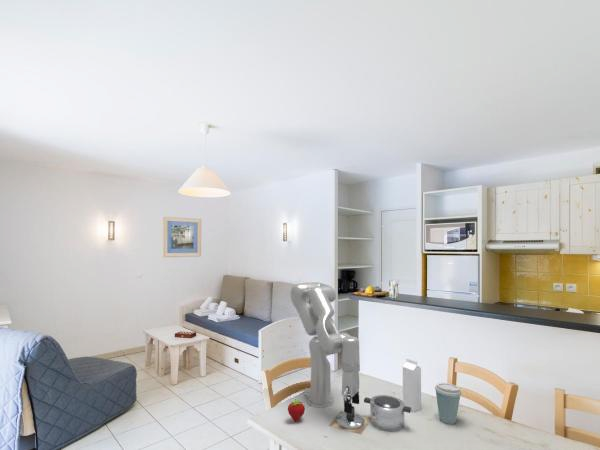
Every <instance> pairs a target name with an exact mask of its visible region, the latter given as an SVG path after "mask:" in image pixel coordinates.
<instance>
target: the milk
mask: <svg viewBox="0 0 600 450" xmlns="http://www.w3.org/2000/svg"><path fill="white" fill-rule="evenodd" d="M402 402H403V403H404V406H406V407H411V413H415V412H418V411H419V410H421V409H422V368H421V366H419V365H418V361H415V360H413V359H409V358H406V360H405V363H404V364H403V366H402Z"/></svg>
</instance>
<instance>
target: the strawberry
mask: <svg viewBox="0 0 600 450" xmlns="http://www.w3.org/2000/svg"><path fill="white" fill-rule="evenodd" d="M296 399H297V398H295V400H294V401H290V404H289V405H288V406H287V412H288V414H289V416H290V417H291V418H292V420H293V421H294V422H299V420H300V419H301V418H302V416H303V415H304V414H305V412H306V411H305V410H306V407H305V405H304V404H303V402H302V401H300V400H296Z"/></svg>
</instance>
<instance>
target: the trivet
mask: <svg viewBox="0 0 600 450" xmlns="http://www.w3.org/2000/svg"><path fill="white" fill-rule="evenodd" d="M341 413H345V412H344V410H343V411H342V410H340V411H339V413H337V415H336V416H335V417H334V419H333V420H332V421H331V422H330V423H329V425H328V426H329V427H333V428H337V429H340V430H344V431H348V432H351V433H354V434H357V435H358V434H359V435H362V434H363V432H364V431H365V429H366V428H367V426H368V424H369V422H370V417H366V416H362V415H361V416H362V417H363V418H364V420H365V424H364V426H363V427H362V428H360V429H354V430H351V429H345V428H343V427H341V426H339V425H338V424H337V422H336V418H337V416H338V415H339V414H341Z"/></svg>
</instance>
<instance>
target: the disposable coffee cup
mask: <svg viewBox="0 0 600 450" xmlns="http://www.w3.org/2000/svg"><path fill="white" fill-rule="evenodd" d="M434 390H435V395H436V403H437V410H438V412H437V413H438V418H439V420H440V421H441V422H443V423H444V424H447V425H454V424H456V421H457V417H458V410H459V406H460V400H461V399H460V398H461V395H462V390H461V388H460V387H459V386H457V385H455V384H452V383H448V382H439V383H436V385H435V387H434Z"/></svg>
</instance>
